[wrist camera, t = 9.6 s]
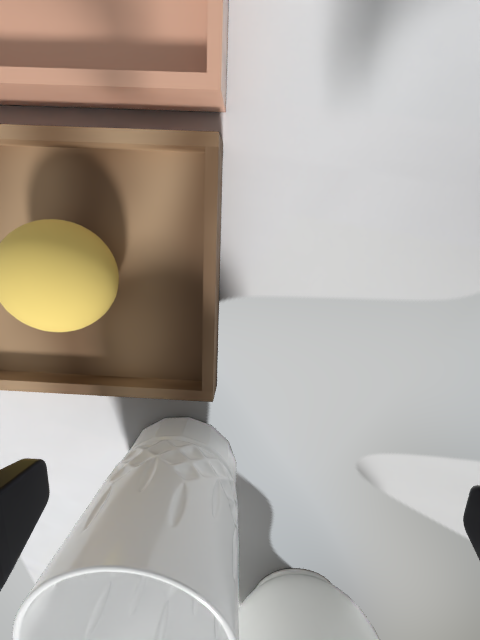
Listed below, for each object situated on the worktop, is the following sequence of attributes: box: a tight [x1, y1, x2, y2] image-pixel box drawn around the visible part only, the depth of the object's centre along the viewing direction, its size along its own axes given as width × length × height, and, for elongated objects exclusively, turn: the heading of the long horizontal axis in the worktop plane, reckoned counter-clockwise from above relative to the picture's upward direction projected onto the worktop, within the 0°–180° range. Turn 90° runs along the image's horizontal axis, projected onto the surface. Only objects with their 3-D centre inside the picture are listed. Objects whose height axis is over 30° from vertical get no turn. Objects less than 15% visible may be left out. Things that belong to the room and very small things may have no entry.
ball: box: [0, 219, 119, 332], centre depth 15 cm, size 5×5×5 cm
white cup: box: [12, 417, 239, 640], centre depth 16 cm, size 8×8×10 cm
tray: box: [0, 124, 223, 402], centre depth 17 cm, size 14×13×2 cm
